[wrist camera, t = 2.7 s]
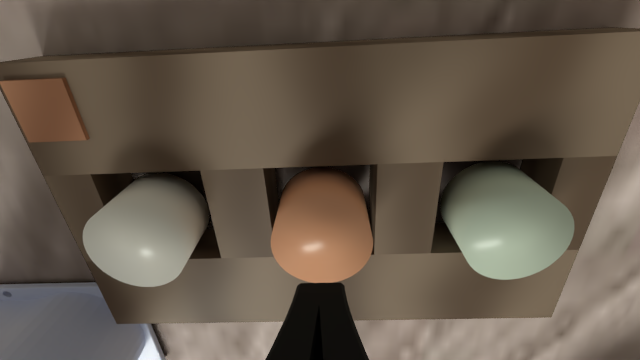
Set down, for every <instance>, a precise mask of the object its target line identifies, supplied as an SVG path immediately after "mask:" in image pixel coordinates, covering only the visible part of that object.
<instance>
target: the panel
mask: <svg viewBox="0 0 640 360" xmlns="http://www.w3.org/2000/svg"><path fill="white" fill-rule="evenodd" d="M0 90H1V92H2V94H3V96H4V98H5V100H6V102H7V104H8V106H9V108H10V110H11V112H12V114H13V116H14V118H15V120H16V122H17V124H18V126H19V128H20V130H21V132H22V134H23V136H24V138H25V140H26V142H27V144H28V146H29V148H30V150H31V152H32V154H33V156H34V158H35V160H36V162H37V164H38V166H39V168H40V170H41V172H42V174H43V176H44V178H45V180H46V182H47V185H48V187H49V189H50V191H51V193H52V195H53V197H54V199H55V201H56V203H57V205H58V207H59V209H60V211H61V213H62V215H63V217H64V219H65V221H66V223H67V225H68V227H69V229H70V231H71V233H72V235H73V237H74V239H75V241H76V243H77V245H78V247H79V249H80V251H81V253H82V255H83V257H84V259H85V261H86V263H87V265H88V267H89V269H90V271H91V273H92V275H93V277H94V279H95V281H96V283H97V285H98V287H99V289H100V291H101V293H102V295H103V297H104V299H105V301H106V303H107V305H108V307H109V309H110V311H111V313H112V315H113V317H114V319H115V321H116V323H117V324H152V323H216V322H281V321H284V320H285V318H286V315H287V313H288V311H289V308H290V306H291V303H292V300H293V297H294V294H295V291H296V288H297V286H298V285H299V284H300V283H311V282H307V281H303V280H301V279H298V278H296V277H294V276H292V275H290V274H289V273H288V272H286V271H285V270H284V269H283V268H282V267H281V266H280V265H279V264H278V263H277V261H276V259H275V258H274V256H273V253H272V249H271V235H272V231H273V227H274V223H275V219H276V215H277V211H278V207H279V198H278V190H277V182H276V174H275V168H285V167H314V166H342V165H370V178H369V217H368V218H369V223H370V228H371V232H372V237H373V249H372V253H371V256H370V258H369V260H368V262H367V263H366V264H365V266H364V267H363V268H362V269H361V270H360V271H359V272H357V273H356V274H354V275H353V276H351V277H349V278H347V279H344V280H342V281H338V282H341V283H342V284H343V285H344V286H345V293H346V297H347V301H348V305H349V308H350V312H351V315H352V318H353V320H409V319H473V318H538V317H552V314H553V312H554V309H555V307H556V304H557V302H558V300H559V297H560V295H561V292H562V290H563V287H564V285H565V282H566V280H567V278H568V275H569V273H570V270H571V268H572V265H573V263H574V260H575V258H576V256H577V253H578V251H579V248H580V246H581V243H582V241H583V238H584V236H585V234H586V231H587V229H588V226H589V224H590V221H591V219H592V216H593V214H594V212H595V209H596V207H597V204H598V202H599V199H600V197H601V194H602V192H603V190H604V187H605V185H606V182H607V180H608V177H609V175H610V172H611V170H612V168H613V165H614V163H615V160H616V158H617V155H618V153H619V150H620V148H621V146H622V143H623V141H624V138H625V136H626V133H627V131H628V128H629V126H630V124H631V121H632V119H633V116H634V114H635V111H636V109H637V106H638V104H639V102H640V29H635V28H611V27H610V28H590V29H571V30H551V31H531V32H512V33H492V34H472V35H452V36H433V37H413V38H393V39H374V40H354V41H334V42H315V43H295V44H275V45H255V46H236V47H216V48H196V49H177V50H157V51H137V52H118V53H98V54H78V55H58V56H41V57H34V58H27V59H20V60H12V61H5V62H0ZM513 159H523V161H522V165H521V169H520V170H521V171H522V172H524V173H525V174H526V175H527V176H529V177H530V178H531V179H532V180H534V181H535V182H536V183H537V184H539V185H540V186H541V187H542V188H544V189H545V190H546V191H547V192H549V193H550V194H551V195H552V196H554V197H555V198H556V199H557V200H559V201H560V202H561V203H562V204H564V205H565V206H566V207H567V208H568V210H569V211H570V212H571V214H572V216H573V220H574V234H573V238H572V240H571V242H570V245H569V246H568V248H567V249H566V251H565V252H564V253H563V254H562V256H560V257H559V258H558V259H557V260H556V261H555V262H554V263H553V264H551V265H550V266H548V267H547V268H545V269H543V270H541V271H540V272H537V273H535V274H533V275H530V276H527V277H523V278H518V279H510V280H499V279H493V278H489V277H486V276H483V275H481V274H479V273H478V272H476V271H475V270H474V269H473V268H472V267H471V266H470V265H469V263H468V262H467V260H466V258H465V257H464V255H463V253H462V251H461V250H460V248H459V246H458V244H457V243H456V241H455V239H454V237H453V236H452V234H451V232H450V230H449V229H448V227H447V225H446V223H445V222H444V223H435V219H436V212H437V205H438V198H439V191H440V184H441V177H442V170H443V163H444V162H456V161H485V160H513ZM171 171H200V173H201V177H202V181H203V185H204V189H205V193H206V198H207V202H208V206H209V210H210V214H211V218H212V222H213V226H214V229H206V230H205V231H204V233H203V235H202V237H201V238H200V240H199V242H198V244H197V245H196V247H195V249H194V251H193V252H192V254H191V256H190V258H189V259H188V261H187V263H186V265H185V266H184V268H183V270H182V272H181V273H180V274H179V276H178V277H177V278H175V279H174V280H173V281H171V282H169V283H167V284H164V285H161V286H156V287H140V286H134V285H130V284H127V283H124V282H121V281H119V280H117V279H115V278H113V277H111V276H109V275H108V274H106V273H105V272H103V271H102V270H101V269H100V268H99V267H97V266H96V264H95V263H94V262H93V261H92V260H91V258H90V257H89V255H88V254H87V252H86V250H85V247H84V244H83V230H84V227H85V225H86V223H87V221H88V220H89V219H90V218H91V217H92V216H93V215H94V214H96V213H97V212H98V211H99V210H100V209H102V208H103V207H104V206H105V205H106V204H107V203H109V202H110V201H111V200H112V199H113V198H114V197H116V196H117V195H118V194H119V193H120V192H121V191H123V190H124V189H125V188H126V187H127V186H128V185H130V184H131V183H132V182H133V178H132V175H131V173H143V172H171ZM333 283H336V282H333Z"/></svg>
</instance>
